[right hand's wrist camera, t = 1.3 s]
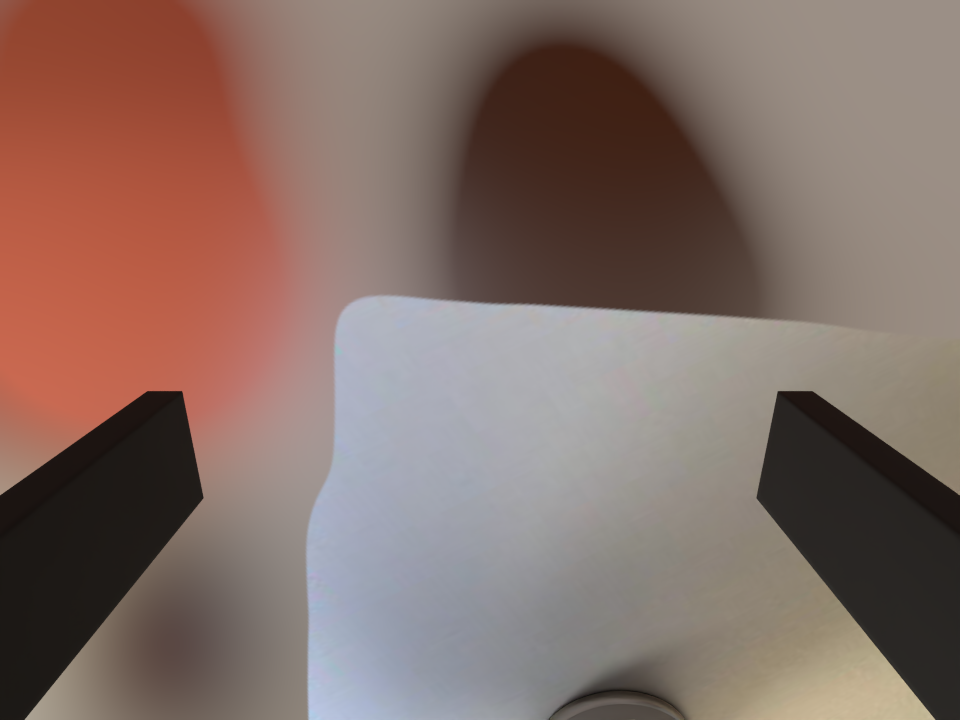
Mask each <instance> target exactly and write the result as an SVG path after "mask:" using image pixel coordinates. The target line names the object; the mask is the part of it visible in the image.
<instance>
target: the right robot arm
mask: <svg viewBox="0 0 960 720" xmlns="http://www.w3.org/2000/svg"><path fill="white" fill-rule="evenodd" d="M202 499H203V493H202V488H201V483H200V478H199V473H198V468H197V463H196V458H195V453H194V448H193V443H192V438H191V433H190V428H189V423H188V418H187V413H186V408H185V403H184V398H183V393H182V391H147V392H146V393H144V394H143V395H141V396H140V397H139V398H137V399H136V400H134V401H133V402H132V403H130V404H129V405H127V406H126V407H124V408H123V409H122V410H120V411H119V412H118V413H116V414H115V415H113V416H112V417H110V418H109V419H108V420H106V421H105V422H103V423H102V424H100V425H99V426H98V427H96V428H95V429H93V430H92V431H91V432H89V433H88V434H86V435H85V436H84V437H82V438H81V439H79V440H78V441H77V442H75V443H74V444H72V445H71V446H69V447H68V448H67V449H65V450H64V451H62V452H61V453H59V454H58V455H57V456H55V457H54V458H52V459H51V460H50V461H48V462H47V463H45V464H44V465H43V466H41V467H40V468H38V469H37V470H35V471H34V472H33V473H31V474H30V475H28V476H27V477H26V478H24V479H23V480H21V481H20V482H19V483H17V484H16V485H14V486H13V487H11V488H10V489H9V490H7V491H6V492H4V493H3V494H2V495H0V720H25V718H26V717H27V716H28V715H29V713H30V712H31V711H32V710H33V708H34V707H35V706H36V705H37V704H38V702H39V701H40V700H41V699H42V697H43V696H44V695H45V694H46V692H47V691H48V690H49V689H50V687H51V686H52V685H53V684H54V683H55V681H56V680H57V679H58V678H59V676H60V675H61V674H62V673H63V671H64V670H65V669H66V668H67V666H68V665H69V664H70V663H71V661H72V660H73V659H74V658H75V657H76V655H77V654H78V653H79V652H80V650H81V649H82V648H83V647H84V645H85V644H86V643H87V642H88V640H89V639H90V638H91V637H92V636H93V634H94V633H95V632H96V631H97V629H98V628H99V627H100V626H101V624H102V623H103V622H104V621H105V619H106V618H107V617H108V616H109V614H110V613H111V612H112V611H113V610H114V608H115V607H116V606H117V605H118V603H119V602H120V601H121V600H122V598H123V597H124V596H125V595H126V593H127V592H128V591H129V590H130V588H131V587H132V586H133V585H134V583H135V582H136V581H137V580H138V579H139V577H140V576H141V575H142V574H143V572H144V571H145V570H146V569H147V567H148V566H149V565H150V564H151V562H152V561H153V560H154V559H155V558H156V556H157V555H158V554H159V553H160V551H161V550H162V549H163V548H164V546H165V545H166V544H167V543H168V541H169V540H170V539H171V538H172V536H173V535H174V534H175V533H176V532H177V530H178V529H179V528H180V527H181V525H182V524H183V523H184V522H185V520H186V519H187V518H188V517H189V515H190V514H191V513H192V512H193V510H194V509H195V508H196V507H197V505H198V504H199V503H200V502H201V501H202ZM757 499H758V501H759V502H760V503H761V504H762V506H763V507H764V508H765V509H766V510H767V512H768V513H769V514H770V515H771V517H772V518H773V519H774V520H775V522H776V523H777V524H778V525H779V527H780V528H781V529H782V530H783V532H784V533H785V534H786V535H787V536H788V538H789V539H790V540H791V541H792V543H793V544H794V545H795V546H796V548H797V549H798V550H799V551H800V553H801V554H802V555H803V556H804V558H805V559H806V560H807V561H808V562H809V564H810V565H811V566H812V567H813V569H814V570H815V571H816V572H817V574H818V575H819V576H820V577H821V579H822V580H823V581H824V582H825V584H826V585H827V586H828V587H829V588H830V590H831V591H832V592H833V593H834V595H835V596H836V597H837V598H838V600H839V601H840V602H841V603H842V605H843V606H844V607H845V608H846V610H847V611H848V612H849V613H850V614H851V616H852V617H853V618H854V619H855V621H856V622H857V623H858V624H859V626H860V627H861V628H862V629H863V631H864V632H865V633H866V634H867V636H868V637H869V638H870V639H871V640H872V642H873V643H874V644H875V645H876V647H877V648H878V649H879V650H880V652H881V653H882V654H883V655H884V657H885V658H886V659H887V660H888V662H889V663H890V664H891V665H892V666H893V668H894V669H895V670H896V671H897V673H898V674H899V675H900V676H901V678H902V679H903V680H904V681H905V683H906V684H907V685H908V686H909V688H910V689H911V690H912V691H913V692H914V694H915V695H916V696H917V697H918V699H919V700H920V701H921V702H922V704H923V705H924V706H925V707H926V709H927V710H928V711H929V712H930V714H931V715H932V716H933V717H934V718H935V720H960V495H958V494H957V493H956V492H954V491H953V490H951V489H950V488H949V487H947V486H946V485H944V484H943V483H941V482H940V481H939V480H937V479H936V478H934V477H933V476H932V475H930V474H929V473H927V472H926V471H925V470H923V469H922V468H920V467H919V466H917V465H916V464H915V463H913V462H912V461H910V460H909V459H908V458H906V457H905V456H903V455H902V454H901V453H899V452H898V451H896V450H895V449H893V448H892V447H891V446H889V445H888V444H886V443H885V442H884V441H882V440H881V439H879V438H878V437H877V436H875V435H874V434H872V433H871V432H869V431H868V430H867V429H865V428H864V427H862V426H861V425H860V424H858V423H857V422H855V421H854V420H852V419H851V418H850V417H848V416H847V415H845V414H844V413H843V412H841V411H840V410H838V409H837V408H836V407H834V406H833V405H831V404H830V403H828V402H827V401H826V400H824V399H823V398H821V397H820V396H819V395H817V394H816V393H814V392H813V391H778V393H777V398H776V403H775V408H774V413H773V418H772V423H771V428H770V433H769V438H768V443H767V448H766V453H765V458H764V463H763V468H762V473H761V478H760V483H759V488H758V493H757ZM549 720H685V719H684V718H683V716H682V715H681V714H680V713H679V712H678V711H677V710H676V709H675V708H674V707H672V706H671V705H670V704H668V703H666V702H665V701H663V700H661V699H659V698H656V697H654V696H651V695H647V694H644V693H638V692H631V691H610V692H602V693H597V694H593V695H589V696H586V697H583V698H580V699H578V700H576V701H574V702H572V703H570V704H568V705H566V706H565V707H563V708H562V709H560V710H559V711H558V712H557V713H555V714H554V715H553V716H552V717H551V718H550V719H549Z"/></svg>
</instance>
